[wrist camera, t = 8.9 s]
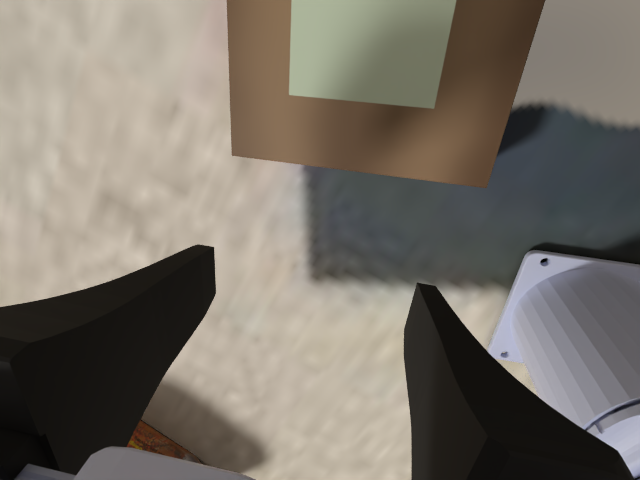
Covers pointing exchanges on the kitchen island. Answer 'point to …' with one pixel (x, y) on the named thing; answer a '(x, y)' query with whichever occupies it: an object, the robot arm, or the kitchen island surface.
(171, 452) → the tin
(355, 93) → the block
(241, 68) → the plinth
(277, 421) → the kitchen island surface
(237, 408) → the kitchen island surface
